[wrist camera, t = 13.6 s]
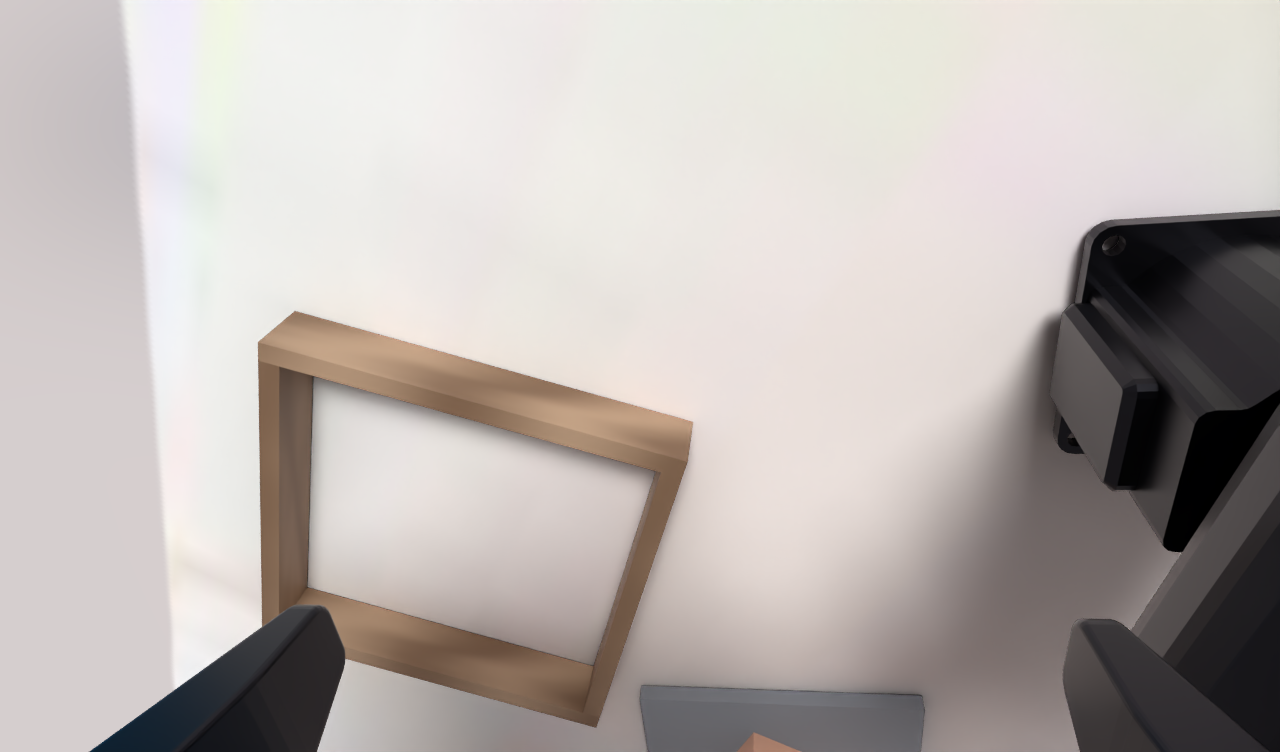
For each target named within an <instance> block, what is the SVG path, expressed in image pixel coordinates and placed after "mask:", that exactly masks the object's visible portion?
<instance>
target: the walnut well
mask: <svg viewBox="0 0 1280 752" xmlns="http://www.w3.org/2000/svg"><path fill="white" fill-rule="evenodd" d="M258 374H259V441H260V509H261V577H262V627H263V626H264V625H265V624H267V623H268V622H270V621H271V620H272V619H274V618H275V617H277V616H278V615H279V614H281V613H282V612H283V611H285V610H286V609H288V608H289V607H291V606H293V605H298V604H307V605H323V606H325V607H326V608H327V609H328V610H329V612H330V614H331V616H332V619H333V621H334V623H335V626H336V628H337V631H338V633H339V635H340V638H341V640H342V643H343V645H344V648H345V659H349V660H352V661H356V662H360V663H363V664H367V665H371V666H374V667H378V668H381V669H385V670H389V671H392V672H396V673H400V674H403V675H407V676H410V677H414V678H418V679H421V680H425V681H429V682H432V683H436V684H440V685H443V686H447V687H450V688H454V689H458V690H461V691H465V692H469V693H472V694H476V695H479V696H483V697H487V698H490V699H494V700H498V701H501V702H505V703H509V704H512V705H516V706H519V707H523V708H527V709H530V710H534V711H538V712H541V713H545V714H549V715H552V716H556V717H559V718H563V719H567V720H570V721H574V722H578V723H581V724H585V725H588V726H592V727H596V726H597V724H598V721H599V718H600V715H601V712H602V709H603V706H604V703H605V700H606V697H607V694H608V692H609V689H610V686H611V683H612V680H613V677H614V674H615V671H616V668H617V665H618V663H619V660H620V657H621V654H622V651H623V648H624V645H625V642H626V639H627V636H628V633H629V631H630V628H631V625H632V622H633V619H634V616H635V613H636V610H637V607H638V604H639V601H640V599H641V596H642V593H643V590H644V587H645V584H646V581H647V578H648V575H649V572H650V569H651V567H652V564H653V561H654V558H655V555H656V552H657V549H658V546H659V543H660V540H661V537H662V535H663V532H664V529H665V526H666V523H667V520H668V517H669V514H670V511H671V508H672V505H673V503H674V500H675V497H676V494H677V491H678V488H679V485H680V482H681V479H682V476H683V474H684V471H685V468H686V465H687V462H688V455H689V447H690V440H691V433H692V425H693V422H691V421H688V420H684V419H680V418H677V417H673V416H670V415H666V414H662V413H659V412H655V411H652V410H648V409H644V408H641V407H637V406H634V405H630V404H627V403H623V402H619V401H616V400H612V399H609V398H605V397H601V396H598V395H594V394H591V393H587V392H583V391H580V390H576V389H573V388H569V387H565V386H562V385H558V384H555V383H551V382H548V381H544V380H540V379H537V378H533V377H530V376H526V375H522V374H519V373H515V372H512V371H508V370H504V369H501V368H497V367H494V366H490V365H486V364H483V363H479V362H476V361H472V360H469V359H465V358H461V357H458V356H454V355H451V354H447V353H443V352H440V351H436V350H433V349H429V348H425V347H422V346H418V345H415V344H411V343H407V342H404V341H400V340H397V339H393V338H390V337H386V336H382V335H379V334H375V333H372V332H368V331H364V330H361V329H357V328H354V327H350V326H346V325H343V324H339V323H336V322H332V321H329V320H325V319H321V318H318V317H314V316H311V315H307V314H303V313H300V312H296V311H294V312H293V313H292V314H291V315H290V316H289V317H287V318H286V319H285V320H284V321H283V322H281V323H280V324H279V325H278V326H277V327H276V328H274V329H273V330H272V331H271V332H270V333H268V334H267V335H266V336H265V337H264V338H263V339H261V340H260V341H259V342H258ZM313 376H315V377H319V378H322V379H326V380H330V381H333V382H337V383H340V384H344V385H348V386H351V387H355V388H358V389H362V390H366V391H369V392H373V393H376V394H380V395H384V396H387V397H391V398H394V399H398V400H402V401H405V402H409V403H412V404H416V405H420V406H423V407H427V408H430V409H434V410H438V411H441V412H445V413H448V414H452V415H456V416H459V417H463V418H466V419H470V420H474V421H477V422H481V423H484V424H488V425H492V426H495V427H499V428H502V429H506V430H510V431H513V432H517V433H520V434H524V435H528V436H531V437H535V438H538V439H542V440H546V441H549V442H553V443H556V444H560V445H564V446H567V447H571V448H574V449H578V450H582V451H585V452H589V453H592V454H596V455H600V456H603V457H607V458H610V459H614V460H618V461H621V462H625V463H628V464H632V465H635V466H639V467H643V468H646V469H650V470H653V471H656V473H655V476H654V479H653V482H652V485H651V488H650V491H649V495H648V498H647V501H646V504H645V507H644V510H643V513H642V516H641V520H640V523H639V526H638V529H637V532H636V535H635V538H634V541H633V545H632V548H631V551H630V554H629V557H628V560H627V563H626V566H625V570H624V573H623V576H622V579H621V582H620V585H619V588H618V591H617V595H616V598H615V601H614V604H613V607H612V610H611V613H610V616H609V620H608V623H607V626H606V629H605V632H604V635H603V638H602V641H601V645H600V648H599V651H598V654H597V657H596V660H595V663H594V666H590V665H586V664H583V663H579V662H576V661H572V660H568V659H565V658H561V657H558V656H554V655H550V654H547V653H543V652H539V651H536V650H532V649H529V648H525V647H521V646H518V645H514V644H510V643H507V642H503V641H500V640H496V639H492V638H489V637H485V636H481V635H478V634H474V633H471V632H467V631H463V630H460V629H456V628H452V627H449V626H445V625H442V624H438V623H434V622H431V621H427V620H423V619H420V618H416V617H413V616H409V615H405V614H402V613H398V612H394V611H391V610H387V609H384V608H380V607H376V606H373V605H369V604H365V603H362V602H358V601H355V600H351V599H347V598H344V597H340V596H336V595H333V594H329V593H326V592H322V591H318V590H315V589H311V588H307V571H308V535H309V499H310V462H311V426H312V390H313Z"/></svg>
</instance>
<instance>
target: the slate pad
mask: <svg viewBox="0 0 1280 752" xmlns="http://www.w3.org/2000/svg"><path fill="white" fill-rule="evenodd" d="M640 704H641V710H642V716H643V723H644V729H645V735H646V741H647V747H648V752H737V751H738V750H739V749H740V747H741V746H742V745H743V744H744V743H745V742H746V741H747V739H748V738H749V737H750V736H751V735H752V734H753V733H757V734H759V735H762V736H764V737H767V738H769V739H771V740H774V741H776V742H779V743H781V744H784V745H786V746H789V747H791V748H793V749H796V750H798V751H801V752H921V744H922V734H923V723H924V713H925V709H924V704H923V699H922V696H919V695H891V694H863V693H836V692H808V691H781V690H753V689H725V688H698V687H670V686H643V685H642V687H641V694H640Z"/></svg>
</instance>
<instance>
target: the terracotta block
mask: <svg viewBox="0 0 1280 752" xmlns="http://www.w3.org/2000/svg"><path fill="white" fill-rule="evenodd" d="M737 752H801V751H798V750H796V749H793V748H791V747H789V746H786V745H784V744H781V743H779V742H776V741H774V740H771V739H769V738H767V737H764V736H762V735H759V734H757V733H753V734H752V735H751V736H750V737H749V738H748V739H747V741H746V742H745V743H744V744H743V745H742V746H741V747H740V749H739V750H738V751H737Z"/></svg>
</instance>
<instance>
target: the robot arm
mask: <svg viewBox="0 0 1280 752" xmlns="http://www.w3.org/2000/svg"><path fill="white" fill-rule="evenodd" d="M1115 235H1117V236H1119V241H1118V243H1117V245H1116V246H1114V247H1113V248H1112V249H1108V250H1103V249H1102V246H1103V244H1104V241H1105V240H1107V239H1108V238H1109V237H1112V236H1115ZM1050 397H1051V398H1052V400H1053V402H1054V403H1055V405H1056V407H1057V410H1056V415H1055V421H1054V427H1053V437H1054V439H1055V440H1056V442H1057V444H1058V445H1059V447H1060V448H1061V450H1063V451H1065V452H1067V453H1072V454H1085V455H1086V457H1087V458H1088V460H1089V462H1090V463H1091V465H1092V467H1093V468H1094V470H1095V472H1096V473H1097V475H1098V477H1099V478H1100V480H1101V481H1102V482H1103V483H1104V484H1105V485H1106V486H1107V487H1108V488H1109V489H1111V490H1112V491H1129V493H1130V495H1131V496H1132V498H1133V499H1134V501H1135V502H1136V504H1137V506H1138V507H1139V509H1140V510H1141V512H1142V514H1143V515H1144V517H1145V518H1146V520H1147V521H1148V523H1149V525H1150V526H1151V528H1152V529H1153V531H1154V532H1155V534H1156V536H1157V537H1158V539H1159V540H1160V542H1161V543H1162V545H1163V546H1164V547H1165V548H1166V549H1167V550H1168V551H1173V552H1182V554H1181V555H1180V557H1179V558H1178V560H1177V561H1176V563H1175V564H1174V566H1173V567H1172V569H1171V570H1170V572H1169V573H1168V575H1167V576H1166V578H1165V579H1164V581H1163V583H1162V584H1161V586H1160V587H1159V589H1158V590H1157V592H1156V593H1155V595H1154V596H1153V598H1152V599H1151V601H1150V602H1149V604H1148V605H1147V607H1146V608H1145V610H1144V612H1143V613H1142V615H1141V616H1140V618H1139V619H1138V621H1137V622H1136V624H1135V625H1134V627H1133V628H1132V630H1131V631H1130V630H1129V629H1127V628H1126V627H1125V626H1124V625H1122V624H1121V623H1119V622H1117V621H1115V620H1112V619H1079V620H1077V621H1075V623H1074V624H1073V626H1072V630H1071V634H1070V639H1069V644H1068V648H1067V653H1066V658H1065V662H1064V667H1063V684H1064V690H1065V695H1066V699H1067V703H1068V706H1069V710H1070V714H1071V718H1072V722H1073V726H1074V730H1075V734H1076V738H1077V742H1078V746H1079V750H1080V752H1280V210H1273V211H1256V212H1238V213H1221V214H1204V215H1187V216H1170V217H1152V218H1135V219H1118V220H1109V221H1104V222H1101V223H1100V224H1098V225H1096V226H1095V227H1094V228H1093V229H1092V230H1091V231H1090V232H1089V233H1088V235H1087V238H1086V241H1085V246H1084V252H1083V257H1082V263H1081V269H1080V275H1079V281H1078V287H1077V293H1076V298H1075V303H1072V304H1071V305H1070V306H1069V307H1068V308H1067V309H1066V310H1065V311H1064V312H1063V313H1062V319H1061V325H1060V331H1059V337H1058V343H1057V349H1056V356H1055V362H1054V368H1053V374H1052V380H1051V386H1050ZM1071 433H1073V435H1074V437H1075V438H1068V436H1069V435H1070V434H1071ZM344 665H345V648H344V645H343V643H342V640H341V638H340V635H339V633H338V631H337V628H336V626H335V623H334V621H333V619H332V616H331V614H330V612H329V610H328V609H327V608H326V607H325V606H323V605H307V604H298V605H293V606H291V607H289V608H288V609H286V610H285V611H283V612H282V613H281V614H279V615H278V616H277V617H275V618H274V619H272V620H271V621H270V622H268V623H267V624H265V625H264V626H263V627H261V628H260V629H259V630H257V631H256V632H254V633H253V634H252V635H250V636H249V637H247V638H246V639H245V640H243V641H242V642H241V643H239V644H238V645H236V646H235V647H234V648H232V649H231V650H229V651H228V652H227V653H225V654H224V655H223V656H221V657H220V658H218V659H217V660H216V661H214V662H213V663H211V664H210V665H209V666H207V667H206V668H205V669H203V670H202V671H200V672H199V673H198V674H196V675H195V676H193V677H192V678H191V679H189V680H188V681H187V682H185V683H184V684H182V685H181V686H180V687H178V688H177V689H175V690H174V691H173V692H171V693H170V694H169V695H167V696H166V697H164V698H163V699H162V700H160V701H159V702H157V704H155V705H153V706H152V707H151V708H149V709H148V710H146V711H145V712H144V713H142V714H141V715H139V716H138V717H137V718H135V719H134V720H133V721H131V722H130V723H128V724H127V725H126V726H124V727H123V728H122V729H120V730H119V731H117V732H116V733H115V734H113V735H112V736H110V737H109V738H108V739H106V740H105V741H104V742H102V743H101V744H99V745H98V746H97V747H95V748H94V749H92V750H91V751H90V752H317V750H318V747H319V743H320V740H321V737H322V734H323V731H324V728H325V725H326V722H327V719H328V716H329V713H330V710H331V707H332V703H333V700H334V697H335V694H336V691H337V688H338V685H339V682H340V679H341V676H342V673H343V669H344Z"/></svg>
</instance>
